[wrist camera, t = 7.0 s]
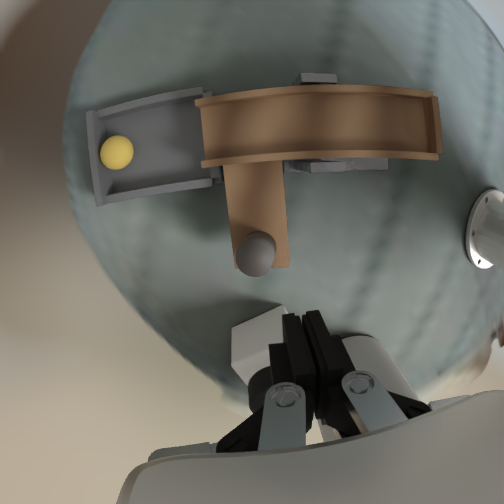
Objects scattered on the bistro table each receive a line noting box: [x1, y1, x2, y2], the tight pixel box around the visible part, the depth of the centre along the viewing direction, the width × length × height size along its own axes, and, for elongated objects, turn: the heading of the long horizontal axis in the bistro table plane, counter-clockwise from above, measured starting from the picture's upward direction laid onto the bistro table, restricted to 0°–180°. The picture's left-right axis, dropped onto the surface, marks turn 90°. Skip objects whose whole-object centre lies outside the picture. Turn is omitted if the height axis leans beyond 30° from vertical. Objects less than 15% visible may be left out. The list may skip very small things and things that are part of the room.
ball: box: [100, 135, 134, 170], centre depth 24 cm, size 4×4×4 cm
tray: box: [86, 86, 222, 206], centre depth 24 cm, size 13×10×4 cm
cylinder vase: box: [317, 336, 420, 442], centre depth 25 cm, size 12×12×25 cm
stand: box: [283, 73, 388, 173], centre depth 23 cm, size 12×9×7 cm
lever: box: [195, 85, 443, 277], centre depth 21 cm, size 20×16×4 cm
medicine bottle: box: [231, 305, 288, 413], centre depth 29 cm, size 7×7×12 cm
